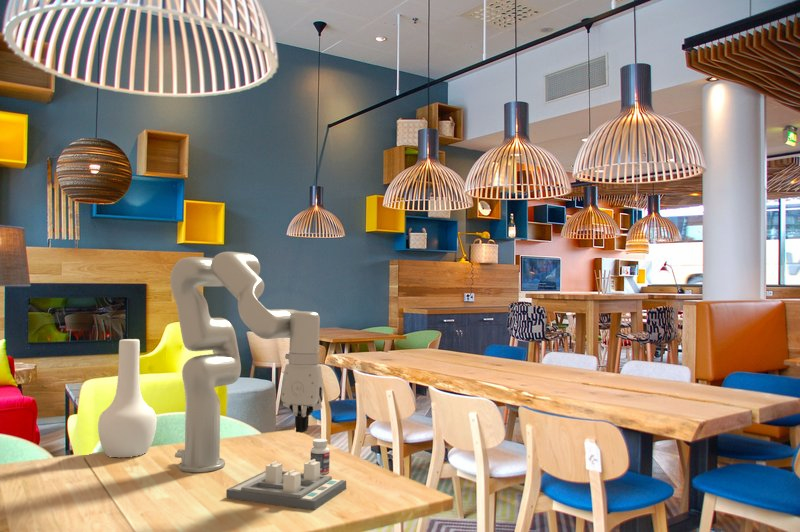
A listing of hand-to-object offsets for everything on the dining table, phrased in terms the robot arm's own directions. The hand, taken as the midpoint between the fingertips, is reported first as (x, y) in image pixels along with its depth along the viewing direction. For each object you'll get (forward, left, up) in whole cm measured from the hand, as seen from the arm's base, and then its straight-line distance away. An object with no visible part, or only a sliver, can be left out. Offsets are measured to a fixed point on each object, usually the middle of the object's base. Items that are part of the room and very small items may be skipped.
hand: (301, 431), depth 162 cm
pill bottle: (-2, +14, -15) cm, 20 cm away
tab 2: (+3, -10, -12) cm, 16 cm away
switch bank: (-1, -5, -14) cm, 15 cm away
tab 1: (-5, -5, -12) cm, 14 cm away
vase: (-67, +11, -15) cm, 69 cm away
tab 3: (+3, 0, -12) cm, 13 cm away
